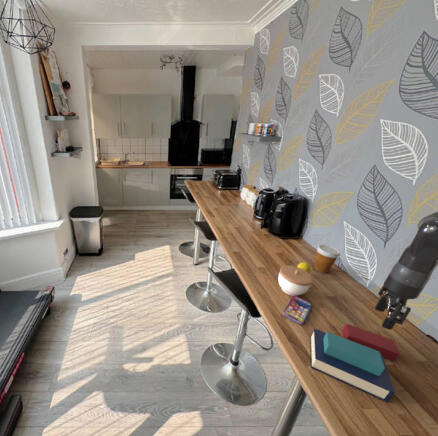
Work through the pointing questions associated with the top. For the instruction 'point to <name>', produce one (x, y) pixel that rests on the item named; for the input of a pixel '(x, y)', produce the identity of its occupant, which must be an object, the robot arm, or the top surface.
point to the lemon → (304, 266)
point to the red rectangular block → (372, 341)
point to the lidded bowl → (294, 280)
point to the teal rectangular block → (353, 353)
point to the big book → (349, 371)
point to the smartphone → (297, 309)
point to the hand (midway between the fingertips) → (382, 318)
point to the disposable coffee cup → (325, 258)
